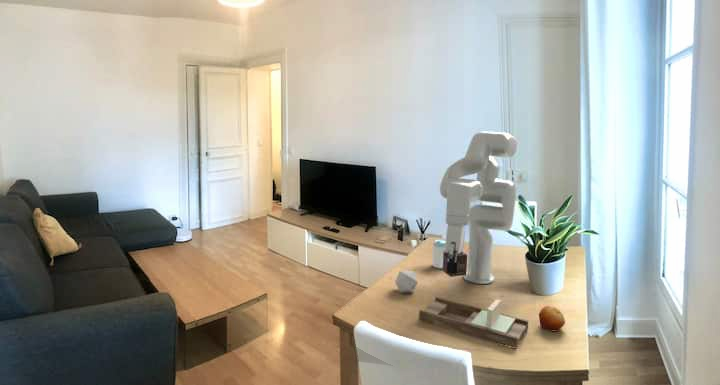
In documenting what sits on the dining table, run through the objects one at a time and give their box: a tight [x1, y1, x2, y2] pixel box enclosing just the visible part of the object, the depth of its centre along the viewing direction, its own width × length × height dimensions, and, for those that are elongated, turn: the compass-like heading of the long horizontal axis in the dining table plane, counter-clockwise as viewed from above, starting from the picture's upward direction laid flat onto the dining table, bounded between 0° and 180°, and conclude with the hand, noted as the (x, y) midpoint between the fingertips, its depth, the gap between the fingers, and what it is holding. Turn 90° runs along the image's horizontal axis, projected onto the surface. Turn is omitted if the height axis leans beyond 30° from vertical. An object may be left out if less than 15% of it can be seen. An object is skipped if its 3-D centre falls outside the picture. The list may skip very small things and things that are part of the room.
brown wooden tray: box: [418, 296, 529, 349], centre depth 147 cm, size 14×32×3 cm, turn 56°
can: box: [432, 238, 446, 270], centre depth 199 cm, size 7×7×12 cm
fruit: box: [538, 305, 566, 331], centre depth 145 cm, size 8×8×8 cm
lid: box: [470, 298, 515, 334], centre depth 142 cm, size 11×11×6 cm
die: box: [394, 270, 419, 294], centre depth 173 cm, size 8×9×10 cm
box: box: [442, 251, 468, 278], centre depth 151 cm, size 6×6×7 cm
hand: (454, 268), depth 151 cm, fingers closed on box, 8 cm apart
